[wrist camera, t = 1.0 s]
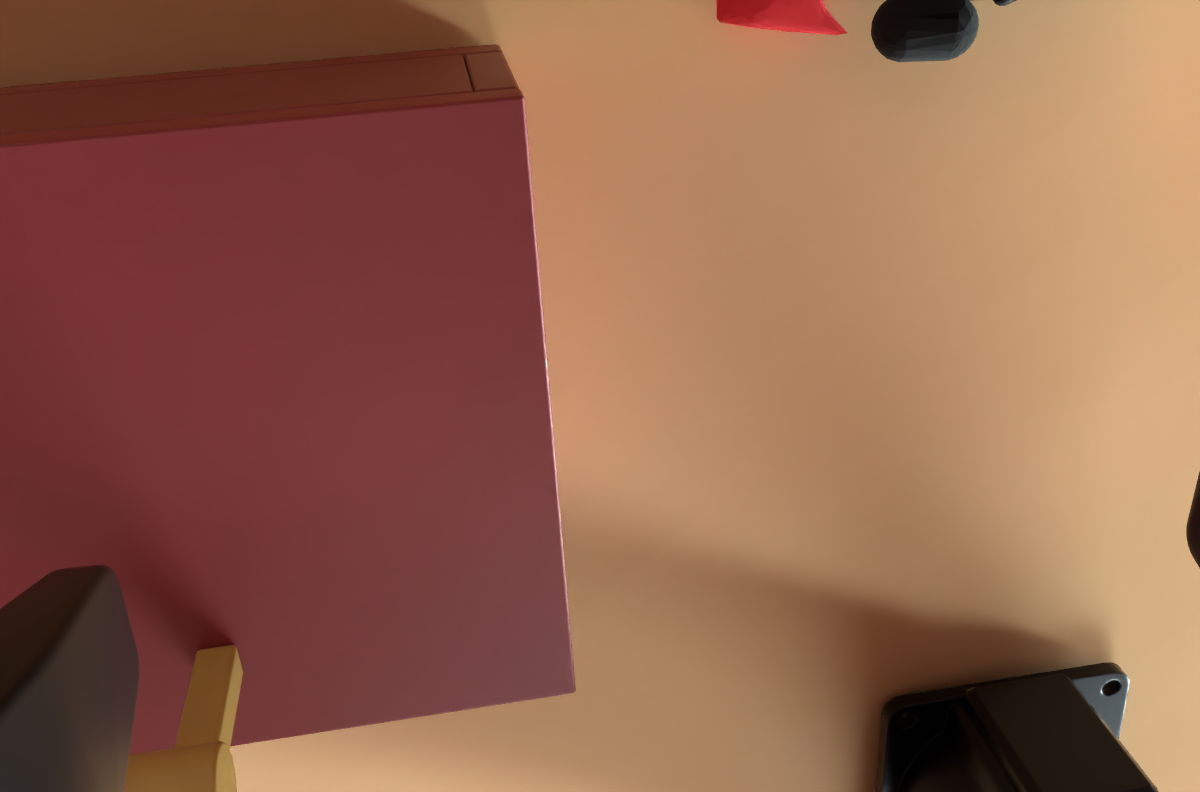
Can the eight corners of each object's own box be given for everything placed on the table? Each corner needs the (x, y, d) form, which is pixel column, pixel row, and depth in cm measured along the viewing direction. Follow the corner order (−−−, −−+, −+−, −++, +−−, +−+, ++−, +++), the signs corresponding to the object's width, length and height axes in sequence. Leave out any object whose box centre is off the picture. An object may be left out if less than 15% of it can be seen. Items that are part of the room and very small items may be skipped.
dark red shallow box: (547, 547, 25) (570, 655, 22) (-244, 657, 24) (-347, 793, 20) (500, 43, 20) (519, 86, 17) (-510, 131, 19) (-703, 199, 15)
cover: (571, 672, 22) (609, 853, 18) (-338, 811, 20) (-510, 1045, 17) (521, 87, 17) (557, 167, 13) (-705, 199, 15) (-1078, 331, 11)
